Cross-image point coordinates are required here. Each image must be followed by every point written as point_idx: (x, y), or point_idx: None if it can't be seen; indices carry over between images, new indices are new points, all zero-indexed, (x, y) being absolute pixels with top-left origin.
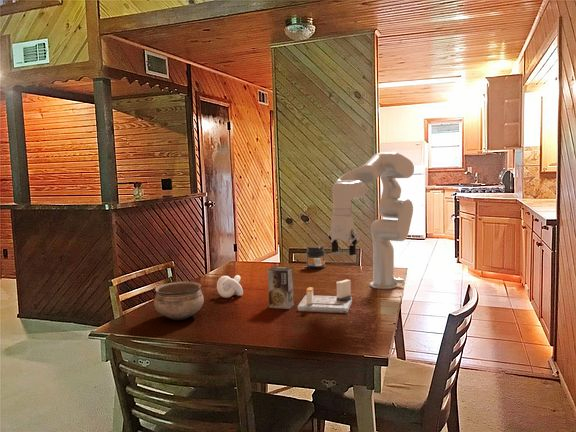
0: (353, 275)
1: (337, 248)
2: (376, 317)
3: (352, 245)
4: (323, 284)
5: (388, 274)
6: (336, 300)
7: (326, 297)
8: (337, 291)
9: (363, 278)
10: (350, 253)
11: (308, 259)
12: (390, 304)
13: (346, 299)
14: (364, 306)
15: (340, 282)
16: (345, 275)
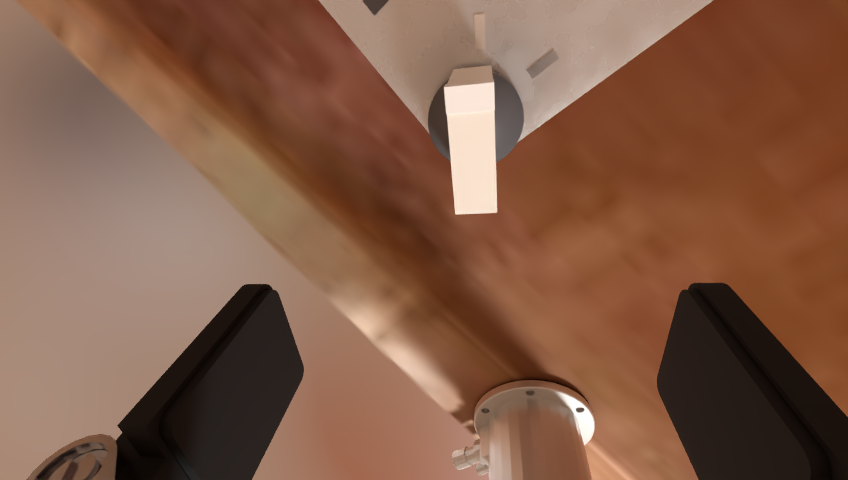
0: None
1: (679, 418)
2: (175, 58)
3: (76, 449)
4: (840, 294)
5: (492, 463)
6: (474, 42)
7: (584, 41)
8: (484, 73)
9: (683, 453)
10: (231, 300)
11: None
12: (313, 255)
13: (432, 101)
14: (357, 151)
15: (455, 100)
16: None
